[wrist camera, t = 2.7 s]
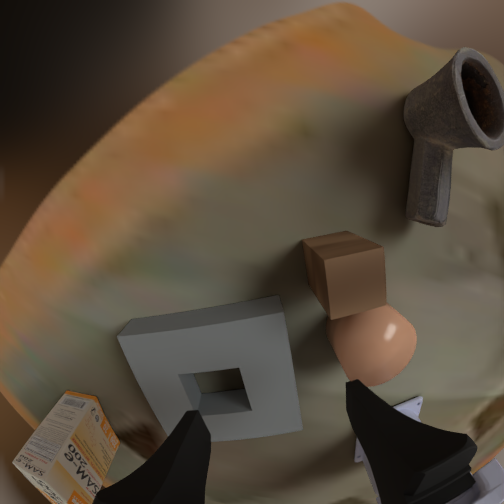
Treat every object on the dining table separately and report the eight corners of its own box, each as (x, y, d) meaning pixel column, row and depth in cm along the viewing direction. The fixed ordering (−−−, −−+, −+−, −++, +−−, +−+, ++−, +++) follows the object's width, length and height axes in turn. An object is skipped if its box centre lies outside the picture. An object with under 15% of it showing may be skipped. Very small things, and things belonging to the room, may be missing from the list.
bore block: (298, 407, 23) (302, 429, 20) (177, 421, 23) (172, 442, 20) (278, 294, 20) (283, 311, 17) (131, 319, 20) (116, 336, 18)
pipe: (379, 211, 19) (445, 225, 11) (394, 66, 16) (447, 27, 9) (436, 228, 19) (503, 247, 11) (448, 93, 17) (506, 72, 9)
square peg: (351, 274, 20) (386, 305, 14) (308, 284, 20) (330, 320, 14) (346, 230, 19) (383, 246, 13) (301, 239, 19) (324, 260, 13)
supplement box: (123, 442, 24) (90, 522, 11) (91, 435, 24) (54, 506, 11) (98, 394, 22) (44, 483, 10) (65, 387, 22) (9, 462, 10)
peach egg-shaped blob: (386, 341, 21) (412, 372, 16) (328, 358, 22) (344, 395, 17) (386, 283, 20) (419, 307, 15) (322, 300, 20) (342, 330, 15)
